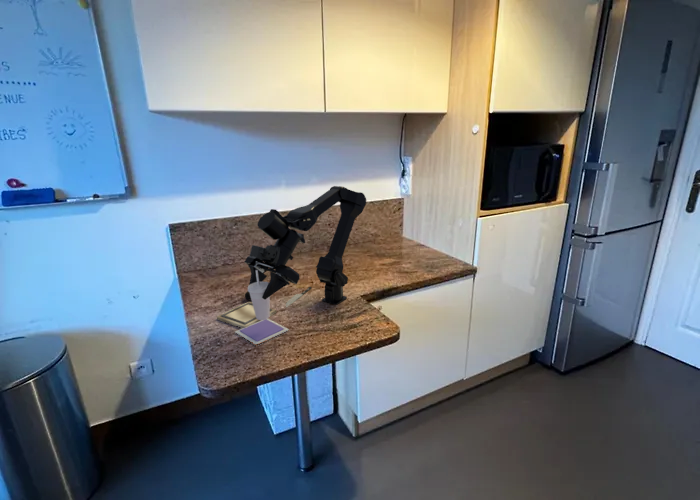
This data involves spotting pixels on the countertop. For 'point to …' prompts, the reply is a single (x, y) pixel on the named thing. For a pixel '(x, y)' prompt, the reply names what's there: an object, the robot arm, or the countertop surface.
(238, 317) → the board
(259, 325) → the ink pad
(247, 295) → the tape measure
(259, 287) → the smoothie
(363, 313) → the countertop surface
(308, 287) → the chef's knife
